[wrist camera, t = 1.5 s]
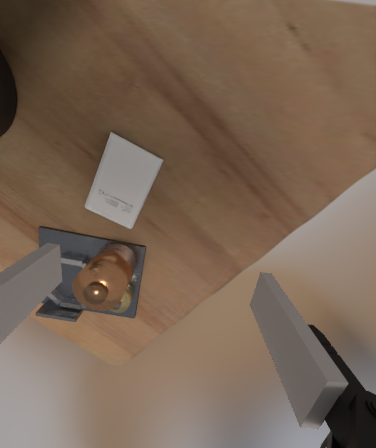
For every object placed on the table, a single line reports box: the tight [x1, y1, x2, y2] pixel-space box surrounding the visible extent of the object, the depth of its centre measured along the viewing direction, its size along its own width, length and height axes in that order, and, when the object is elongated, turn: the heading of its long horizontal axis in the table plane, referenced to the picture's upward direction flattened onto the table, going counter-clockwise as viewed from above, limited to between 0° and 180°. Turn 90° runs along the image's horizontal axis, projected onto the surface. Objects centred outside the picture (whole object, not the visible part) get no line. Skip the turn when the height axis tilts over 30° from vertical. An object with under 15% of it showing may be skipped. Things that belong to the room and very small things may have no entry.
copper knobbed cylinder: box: [72, 243, 137, 311], centre depth 30 cm, size 7×7×9 cm
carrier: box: [36, 227, 146, 322], centre depth 34 cm, size 18×16×4 cm
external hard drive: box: [85, 132, 164, 229], centre depth 30 cm, size 2×8×12 cm
